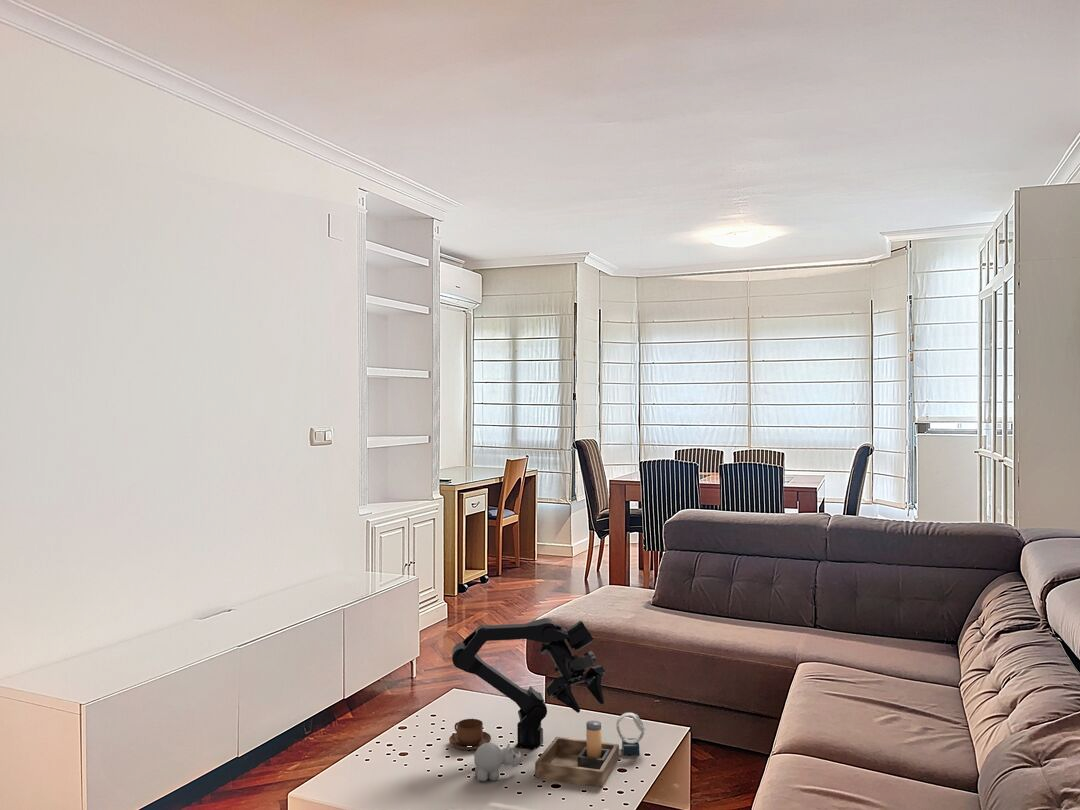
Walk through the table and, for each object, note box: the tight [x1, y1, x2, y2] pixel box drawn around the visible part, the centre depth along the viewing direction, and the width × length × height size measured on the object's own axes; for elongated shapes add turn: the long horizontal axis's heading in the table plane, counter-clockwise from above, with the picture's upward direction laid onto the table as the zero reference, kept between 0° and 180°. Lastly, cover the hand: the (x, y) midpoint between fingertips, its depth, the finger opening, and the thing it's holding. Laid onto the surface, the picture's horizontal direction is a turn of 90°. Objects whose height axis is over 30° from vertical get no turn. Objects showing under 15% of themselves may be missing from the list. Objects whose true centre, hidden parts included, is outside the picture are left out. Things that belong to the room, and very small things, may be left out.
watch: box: [616, 712, 646, 756], centre depth 233 cm, size 6×8×11 cm
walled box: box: [534, 736, 620, 788], centre depth 222 cm, size 18×18×4 cm
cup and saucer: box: [448, 718, 492, 751], centre depth 240 cm, size 12×12×6 cm
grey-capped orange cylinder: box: [585, 720, 602, 759], centre depth 225 cm, size 4×4×11 cm
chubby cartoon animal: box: [473, 742, 522, 782], centre depth 219 cm, size 8×12×9 cm, turn 103°
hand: (591, 707), depth 231 cm, fingers open, 9 cm apart
